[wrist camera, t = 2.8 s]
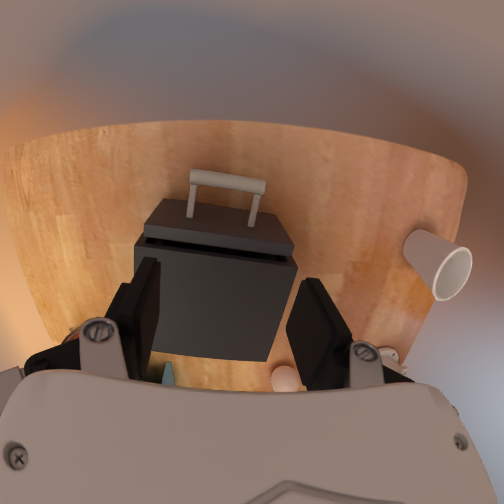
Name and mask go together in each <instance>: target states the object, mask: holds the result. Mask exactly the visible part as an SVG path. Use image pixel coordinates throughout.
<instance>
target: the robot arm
mask: <svg viewBox="0 0 504 504" xmlns="http://www.w3.org/2000/svg"><path fill="white" fill-rule="evenodd" d="M160 280H161V262H158V261H157V258H154V257H147V256H144V257H143V259H142V261H141V263H140V265H139V267H138V269H137V271H136V273H135V275H134V277H133V279H132V281H131V283H130V284H129V283H122V284H121V285H120V287H119V289H118V291H117V293H116V295H115V297H114V299H113V301H112V302H111V304H110V306H109V308H108V311H107V313H106V315H105V317H95V318H91V319H89V320H87V321H85V322H84V323H83V324H82V325H81V327H80V331H79V338H77V339H74V340H71V341H69V342H66V343H63V344H61V345H58V346H55V347H53V348H50V349H47V350H45V351H42V352H39V353H36V354H34V355H32V356H31V357H30V358H29V359H28V360H27V361H26V363H25V365H24V368H21V369H20V368H19V367H18V366H17V367H14V368H11V369H8V370H5V371H3V372H0V504H498V502H497V498H496V495H495V492H494V489H493V487H492V484H491V481H490V479H489V476H488V474H487V471H486V469H485V467H484V464H483V462H482V460H481V458H480V456H479V453H478V451H477V449H476V447H475V445H474V444H473V441H472V440H471V437H470V436H469V434H468V432H467V430H466V428H465V426H464V425H463V423H462V421H461V419H460V418H459V414H458V411H457V410H456V408H455V407H454V406H452V405H451V404H450V402H449V401H448V400H447V398H446V397H445V396H444V395H443V394H442V393H441V392H440V391H439V390H438V389H437V388H435V387H432V386H429V385H426V384H420V383H415V382H414V381H413V380H411V379H409V378H407V377H406V373H405V372H407V371H408V367H407V366H404V367H400V366H399V364H398V359H399V356H398V353H397V352H396V350H395V349H393V348H390V347H384V348H379V349H377V348H376V347H375V346H374V345H372V344H371V343H369V342H366V341H362V340H357V341H353V339H352V333H351V332H350V330H349V328H348V326H347V325H346V323H345V321H344V319H343V318H342V316H341V314H340V313H339V311H338V309H337V308H336V306H335V304H334V302H333V301H332V299H331V297H330V296H329V294H328V292H327V291H326V289H325V287H324V286H323V284H322V283H321V281H320V279H317V278H308V277H307V278H306V279H305V280H302V281H301V284H300V287H299V290H298V293H297V296H296V299H295V302H294V304H293V307H292V310H291V313H290V316H289V319H288V321H287V324H286V333H287V337H288V340H289V343H290V346H291V349H292V353H293V356H294V359H295V362H296V365H297V369H298V372H299V375H300V378H301V382H302V384H303V386H306V388H307V391H296V392H245V391H224V390H209V389H198V388H188V387H179V386H171V385H164V384H157V383H150V382H143V381H140V379H141V375H146V372H147V368H148V363H149V358H150V354H151V349H152V345H153V341H154V337H155V332H156V328H157V324H158V320H159V314H160Z"/></svg>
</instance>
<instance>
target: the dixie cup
mask: <svg viewBox="0 0 504 504" xmlns="http://www.w3.org/2000/svg"><path fill="white" fill-rule="evenodd" d="M403 255H404V257H405V259H406V260H407V261H408V262H409V263H410V265H411V266H412V267H413V268H414V270H415V271H416V272H417V273H418V275H419V276H420V277H421V278H422V280H423V281H424V282H425V283H426V285H427V286H428V287H429V289H430V290H431V291H432V293H433V296H434V298H435V299H436V300H438V301H446V300H448V299H450V298H452V297H454V296H455V295H456V294H457V293H458V292H459V291H460V290H461V289H462V287H463V286H464V285H465V283H466V281H467V279H468V277H469V275H470V272H471V268H472V255H471V252H470V251H469V249H467V248H465V247H460V246H458V245H456V244H454V243H451V242H449V241H447V240H445V239H443V238H440V237H438V236H436V235H434V234H432V233H429V232H427V231H424V230H422V229H418V230H415V231H413V232H412V233H411V234H410V235H409V236H408V237H407V239H406V240H405V243H404V246H403Z"/></svg>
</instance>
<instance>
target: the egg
mask: <svg viewBox="0 0 504 504" xmlns="http://www.w3.org/2000/svg"><path fill="white" fill-rule="evenodd" d="M271 385H272V388H273V390H274V391H275V392H296V391H297V390H298V386H299V379H298V375H297V373H296V371H295V370H294V369H293V368H291V367H289V366H285V365H283V366H279V367H277V368H276V369H275V370H274V371H273V373H272V375H271Z"/></svg>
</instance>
